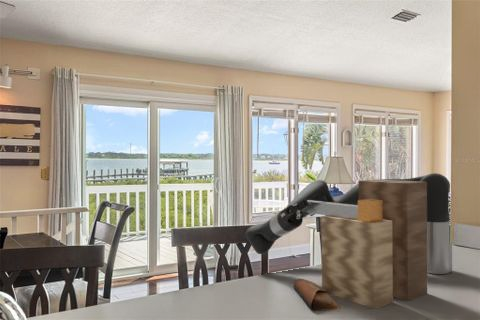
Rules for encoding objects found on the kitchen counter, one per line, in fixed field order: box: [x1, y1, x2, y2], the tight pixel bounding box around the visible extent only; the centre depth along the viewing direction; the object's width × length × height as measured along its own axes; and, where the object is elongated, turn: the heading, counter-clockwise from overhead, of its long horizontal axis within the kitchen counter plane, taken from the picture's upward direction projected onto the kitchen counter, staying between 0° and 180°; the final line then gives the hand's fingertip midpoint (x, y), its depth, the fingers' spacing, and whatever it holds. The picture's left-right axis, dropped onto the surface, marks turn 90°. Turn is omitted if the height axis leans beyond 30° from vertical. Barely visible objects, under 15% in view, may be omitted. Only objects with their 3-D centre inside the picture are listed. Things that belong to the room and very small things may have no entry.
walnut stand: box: [358, 179, 428, 302], centre depth 122 cm, size 16×10×32 cm, turn 37°
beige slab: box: [321, 215, 394, 309], centre depth 117 cm, size 18×8×22 cm, turn 37°
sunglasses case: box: [293, 278, 341, 312], centre depth 115 cm, size 18×7×7 cm
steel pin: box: [302, 199, 383, 222], centre depth 122 cm, size 26×6×6 cm, turn 37°
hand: (316, 200), depth 128 cm, fingers open, 8 cm apart
